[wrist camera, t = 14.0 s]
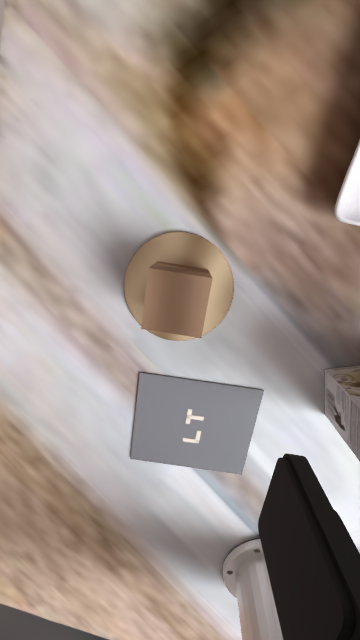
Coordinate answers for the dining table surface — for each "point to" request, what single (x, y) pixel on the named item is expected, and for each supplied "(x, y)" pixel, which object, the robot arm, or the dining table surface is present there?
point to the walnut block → (176, 299)
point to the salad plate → (350, 193)
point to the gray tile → (194, 423)
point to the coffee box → (344, 404)
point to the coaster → (186, 253)
